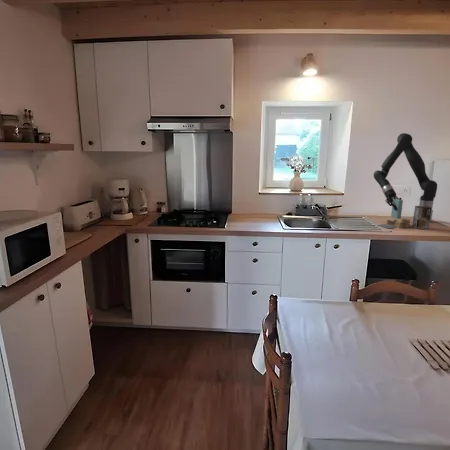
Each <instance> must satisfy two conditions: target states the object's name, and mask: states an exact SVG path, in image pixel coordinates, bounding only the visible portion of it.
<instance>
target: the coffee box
mask: <svg viewBox="0 0 450 450" xmlns="http://www.w3.org/2000/svg"><path fill="white" fill-rule="evenodd" d="M431 209H432V210H433V207H432V208H431V207H429V206H419V205H415V206H414V211H413V212H414V213H413V217H412V218H413V219H412V220H413V221H412V228H414V229H416V230H417V229H419V230H421V229H422V230H423V229H424V230H429V228H430V216H431Z"/></svg>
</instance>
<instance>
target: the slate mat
mask: <svg viewBox="0 0 450 450" xmlns="http://www.w3.org/2000/svg"><path fill="white" fill-rule="evenodd" d="M377 226H378V227H380V226H381V228H384V229H388V230H390V229H397V227H394V226H392V225H389V224H387V223H386V224H377Z"/></svg>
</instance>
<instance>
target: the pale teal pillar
mask: <svg viewBox="0 0 450 450" xmlns="http://www.w3.org/2000/svg"><path fill="white" fill-rule="evenodd" d="M393 200H394V203H395V205H396V206H397V208H398V209H397V210H395V209H394V208H393V207H392V206H391V207H392V208H391V216H390V217H391V218H393V219H395V220H397V219H402V212H403V211H402V210H403V203H404V200H403V199H402V200H399V199H393Z"/></svg>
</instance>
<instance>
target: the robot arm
mask: <svg viewBox="0 0 450 450" xmlns="http://www.w3.org/2000/svg"><path fill="white" fill-rule="evenodd" d="M396 141H397V144H396V146H395V147H394V149H393V150H392V151H391V153H390V154H389V155H388V156H387V157H386V158H385V160H384V161H383V162H382V164H381V166H380V167H381V170H375V171H374V173H373V178H374V180H375V182H376V183H378V185H379V187H380V188H381V190H382V193H383V194H384V196H385V198H386V199H385V200H384V201H385V203H386V204H388V206H389V207H393V208H394V209H395V210H397V209H398V208H397V206H396V205H395V203H394V200H393V199H399V200H403V199H402V198H401V197H398V196H397V193H396V190H395V189H394V187H393V186H392V184H391V183H390V181H389V180H388V179H387V177H388V176H389V175H388V174H389V173H390V169H391V168H392V167H393V165H395V163H396V161H397V159H398V158H399V157H400V156H401V154H402V153H404V156H405V157H406V160H407V162H408V164H409V167H410V168H411V169H412V172H413V174H414V175H415V177H416V179H417V181H418V185H419V187H420V189H421V190H422V191H423V194H422V195H421V196H420V198H419V205H418V206H429V207H431V208H432V209H431V216H430V222H432V220H433V212H434V210H433V208H434V206H433V205H434V201H435V198H436V195H437V191H438V184H437V183H438V182H436V181H435V180H432V179H430V178H429V176H428V174H427V172H426V164H425V162H424V160H423V157H422V156H421V155H420V153H419V152H418V151H417V149H415V147H414V144H413V136H412V135H411V134H409V133H405V132H404V133H403V132H402V133H400V134H399V135H398V136H397V139H396Z"/></svg>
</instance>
